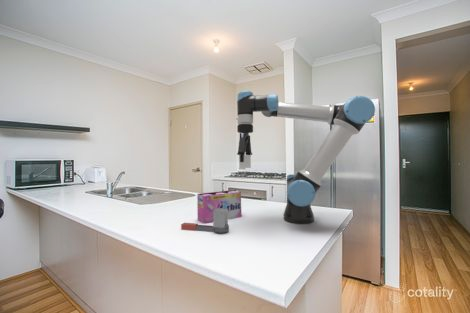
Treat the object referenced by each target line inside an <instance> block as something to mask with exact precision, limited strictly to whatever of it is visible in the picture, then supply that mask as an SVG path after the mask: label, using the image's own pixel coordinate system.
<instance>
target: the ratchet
mask: <svg viewBox="0 0 470 313" xmlns="http://www.w3.org/2000/svg"><path fill="white" fill-rule="evenodd" d="M180 228H181V230H185V231H186V230H187V231H201V232H213V233H215V234H216V235H217V234H218V235H224V234H229V233H230V224H228V225H227V226H226V227H225V228H219V227H213V225H206V224H199V223H194V222H183V223H181V224H180Z"/></svg>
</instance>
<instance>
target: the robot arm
mask: <svg viewBox="0 0 470 313" xmlns="http://www.w3.org/2000/svg"><path fill="white" fill-rule="evenodd" d="M236 104H237V109H236V110H237V115H236V116H237V117H236V118H235V119H236V121H237V127H236V128H237V133H239V141H238V147H237V148H238V149H237V150H238V151H237V152H236V154H237V156H239V158H238V161H239V162H238V164H239V166H238V169H239V170H246V169H250V168H252V166H251V164H252V158H251V157H252V155H253V152H252V146H251V145H252V144H251V135H249V134H251V133H252V134H253V132H254V112H256V113H257V112H258V113H259V112H261V114H262V116H264V117H267V118H271V117H274V118H275V117H277V118H285V119H286V118H287V119H295V120H305V121H313V122H322V123H328V125H330V126H332V128H331V129H330V131H329V132H328V134H327V135H326V136H325V137H324V139H323V141H322V142H321V143H320V145H319V147H318V148H317V149H316V151H315V152H314V154H312V155H313V156H311V159H310V160H308V162H307V164H306V166H305V167H304V168H303V169H301V170H298V171H297V172H296V174H287V176H286V206H285V208H284V212H283V220H284V221H285V222H289V223H293V224H310V223H313V222H314V221H315V215H314V213H313V209H312V207H311V204H312V202H313V201H314V200H315V197H316V194H317V192H318V191H319V189H320V188H321V187H322V184H321V182H322V179H323V177H324V176H325V174H327V172H328V170H329V169H330V167H331V166H332V165H333V163H334V162H335V161H336V159H337V158H338V156H339V155H340V153H341V152H342V150H343V149H344V148H345V146H346V145H347V143H348V142H349V140H350V139H351V138H352V136H353V135H357V134H359V133H360V131H361V130H362V129H363V128H364V126H365V125H366V123H368V122H370V121H371V119H372V118H373V117H374V115H375V113H376V108H375V104H374V102H373V101H372V99H370V98H369V97H367V96H365V95H356V96H353V97H350V98H349V99H347V100H346V102H345V103H343V104H340V105H339V104H338V105H336V104H332V105H330V106H326V105H323V106H322V105H315V104H314V105H313V104H301V103H293V102H279V95H277V94H271V93H270V94H262V95H254V93H253V92H252V91H250V90H242V91H239V92H238V93H237V101H236Z"/></svg>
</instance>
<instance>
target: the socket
mask: <svg viewBox="0 0 470 313" xmlns="http://www.w3.org/2000/svg"><path fill="white" fill-rule="evenodd" d="M212 223H213V225H212V226H213V227H219V228H225V227H226V226H227V225H229V219H228V209H225V208H216V209H215V210H214V211H213V222H212Z"/></svg>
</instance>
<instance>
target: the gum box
mask: <svg viewBox="0 0 470 313" xmlns="http://www.w3.org/2000/svg"><path fill="white" fill-rule="evenodd" d="M196 199H197V203H196V204H197V220H198V221H199V222H200V223H202V224H207V223H213V211H214V210H215V209H216V208H225V209H228V220H229V219H235V218H240V217H242V192H241V191H237V190H235V189H230V190H223V191H214V192H213V191H211V192H203V193H197V198H196Z"/></svg>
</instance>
